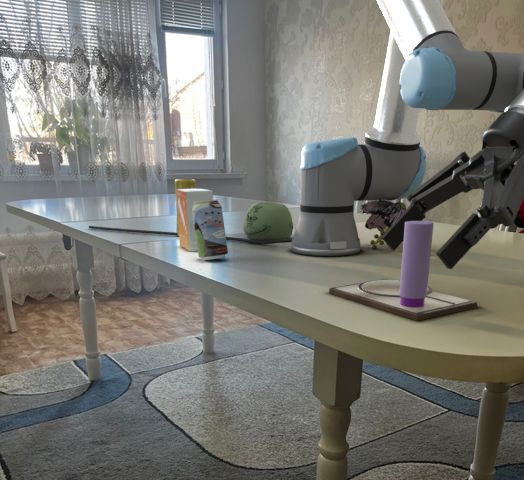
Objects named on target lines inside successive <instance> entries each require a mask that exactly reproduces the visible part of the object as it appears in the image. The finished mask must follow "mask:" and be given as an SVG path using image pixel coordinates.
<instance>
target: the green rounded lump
mask: <svg viewBox="0 0 524 480" xmlns="http://www.w3.org/2000/svg"><path fill="white" fill-rule="evenodd" d="M293 230H294V223H293V217H292V214H291V212H290V210H289V208H288V206H286V205H285V204H283V203H281V202H257V203H254V204H251V205H250V206H249V208H248V210H247V211H246V213H245V216H244V219H243V233H244V236H245V237H246V238H247V239H250V240H257V241H271V240H280V239H290V237H291V236H292V235H293Z"/></svg>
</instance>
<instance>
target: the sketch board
mask: <svg viewBox="0 0 524 480" xmlns="http://www.w3.org/2000/svg"><path fill="white" fill-rule="evenodd" d="M328 289H329V290H328V293H329V294H331V295H334V296H337V297H341V298H343V299H345V300H346V299H347V300H350V301H352V302H355V303H360V304H362V305H364V306H365V305H366V306H368V307H372V308H375V309H378V310H382V311H383V312H388V313H391V314H393V315H397V316H400V317H403V318H406V319H410V320H413V321H416V322H419V321H424V320H428V319H431V318H432V319H433V318H436V317H440V316H444V315H450V314H454V313H459V312H462V311H467V310H472V309H476V308H478V303H479V302H478V301H475V300H471V299H467V298H464V297H459V296H455V295H451V294H448V293H444V292H439V291H435V290H433V288H432V287H431V286H429V285H428V286H427V296H426V297H425V301H424V306H422V307H406V306H403V305H401V304H400V297H401V296H400V295H399V291H400V279H388V278H382V279H377V280H375V279H374V280H369V281H368V280H367V281H364V282H359V283H352V284H345V285H341V286H335V287H329V288H328Z"/></svg>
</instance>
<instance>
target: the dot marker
mask: <svg viewBox="0 0 524 480" xmlns="http://www.w3.org/2000/svg"><path fill="white" fill-rule="evenodd" d="M433 234H434V222H433V221H427V220H422V221H407V222H405V229H404V241H403V242H402V255H401V267H400V268H401V269H400V278H399V280H400V291H399V295H400V296H401V297H400V304H401V305H403V306H406V307H422V306H424V301H425V297H426V296H427V286H429V285H428V284H429V275H430V266H431V265H430V264H431V254H432V244H433Z"/></svg>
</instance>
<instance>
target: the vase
mask: <svg viewBox="0 0 524 480" xmlns="http://www.w3.org/2000/svg"><path fill="white" fill-rule="evenodd" d="M196 187H197V186H196V179H193V178H192V179H191V178H190V179H186V178H184V179H183V178H182V179H175V180H174V192H175V206H176V233H178V235H177V236H176V237H179V221H178V203H177V189H197V188H196Z"/></svg>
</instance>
